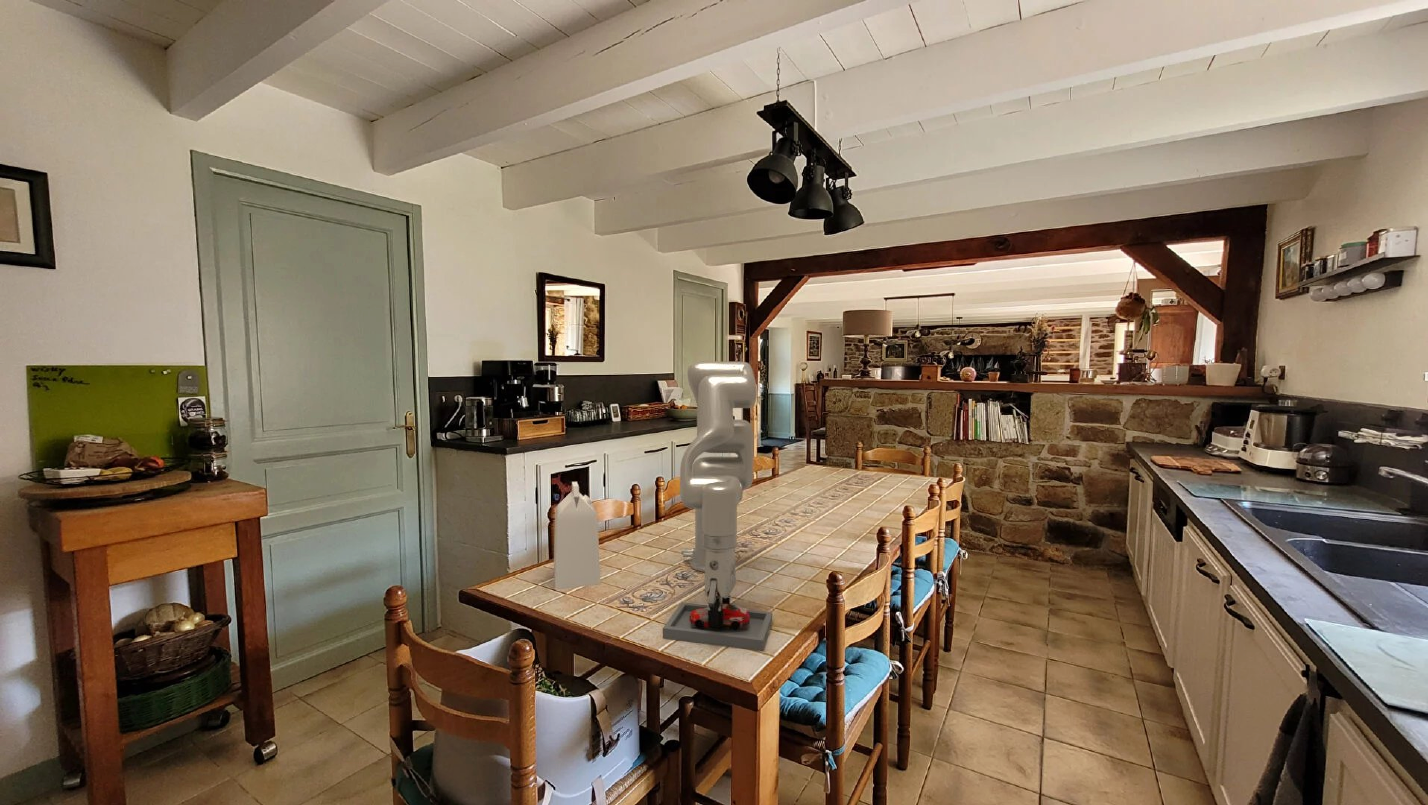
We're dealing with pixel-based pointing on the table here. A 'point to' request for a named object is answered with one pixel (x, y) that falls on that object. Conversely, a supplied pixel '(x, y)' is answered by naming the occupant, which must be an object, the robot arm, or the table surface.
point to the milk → (576, 542)
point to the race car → (731, 617)
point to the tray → (729, 637)
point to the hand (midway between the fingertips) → (719, 620)
